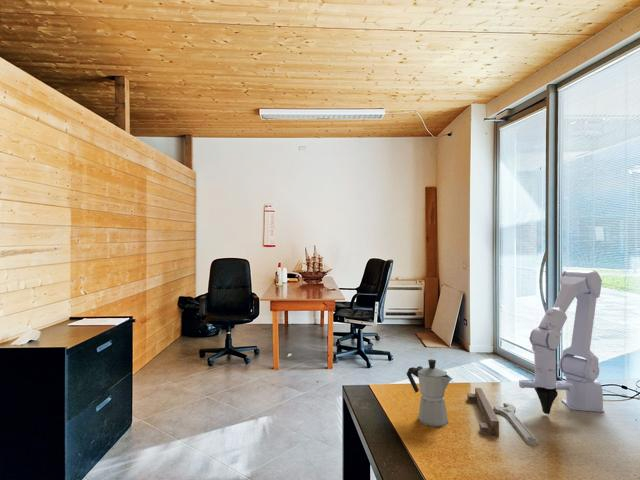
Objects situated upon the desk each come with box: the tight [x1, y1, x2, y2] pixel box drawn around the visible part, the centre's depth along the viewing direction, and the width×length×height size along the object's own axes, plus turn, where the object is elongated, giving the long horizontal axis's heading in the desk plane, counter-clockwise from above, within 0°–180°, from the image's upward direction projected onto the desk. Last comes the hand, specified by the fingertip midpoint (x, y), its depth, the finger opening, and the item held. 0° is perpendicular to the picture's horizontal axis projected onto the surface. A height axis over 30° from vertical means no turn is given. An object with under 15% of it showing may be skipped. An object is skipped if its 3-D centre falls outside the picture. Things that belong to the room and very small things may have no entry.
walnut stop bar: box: [466, 387, 500, 437], centre depth 120 cm, size 4×26×4 cm, turn 167°
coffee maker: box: [406, 359, 453, 428], centre depth 117 cm, size 15×9×18 cm, turn 47°
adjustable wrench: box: [493, 402, 538, 446], centre depth 114 cm, size 25×6×2 cm, turn 168°
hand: (546, 412), depth 119 cm, fingers closed
